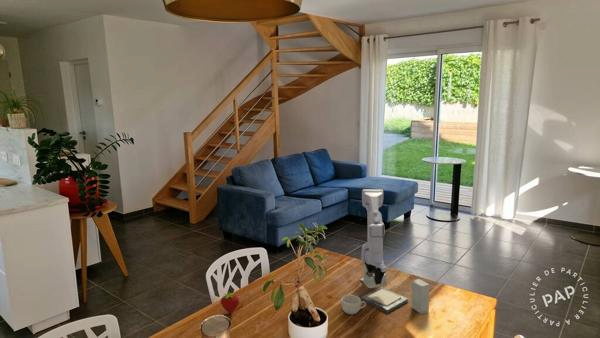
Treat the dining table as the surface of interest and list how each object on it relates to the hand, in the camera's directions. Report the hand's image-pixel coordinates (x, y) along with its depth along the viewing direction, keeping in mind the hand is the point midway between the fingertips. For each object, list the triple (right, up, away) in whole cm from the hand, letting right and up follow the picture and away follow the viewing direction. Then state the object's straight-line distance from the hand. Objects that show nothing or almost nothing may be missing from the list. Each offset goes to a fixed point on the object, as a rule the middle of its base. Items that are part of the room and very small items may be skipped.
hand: (374, 281), depth 167 cm
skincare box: (+17, -10, -7) cm, 21 cm away
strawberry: (-61, -11, -9) cm, 62 cm away
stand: (+4, -9, 0) cm, 9 cm away
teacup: (-10, -10, -8) cm, 17 cm away
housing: (0, -1, 0) cm, 2 cm away
